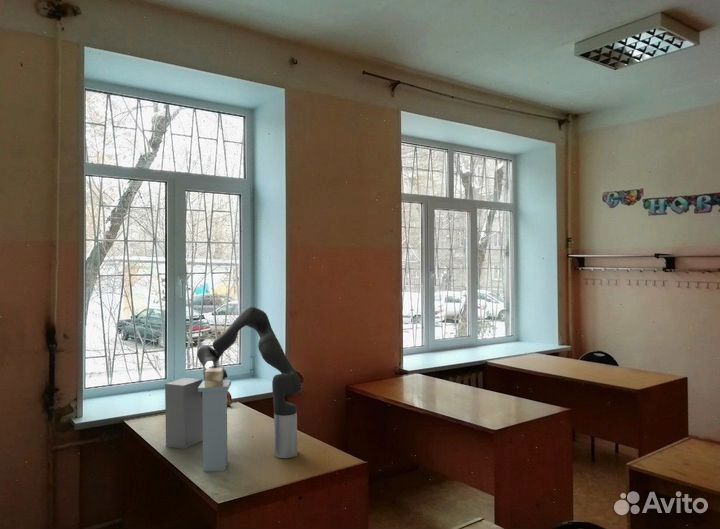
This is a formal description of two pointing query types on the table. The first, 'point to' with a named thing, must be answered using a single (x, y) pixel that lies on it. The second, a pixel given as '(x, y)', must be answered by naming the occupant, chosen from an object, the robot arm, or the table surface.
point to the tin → (229, 398)
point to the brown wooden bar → (214, 377)
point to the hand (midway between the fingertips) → (215, 392)
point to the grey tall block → (183, 413)
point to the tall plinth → (214, 426)
